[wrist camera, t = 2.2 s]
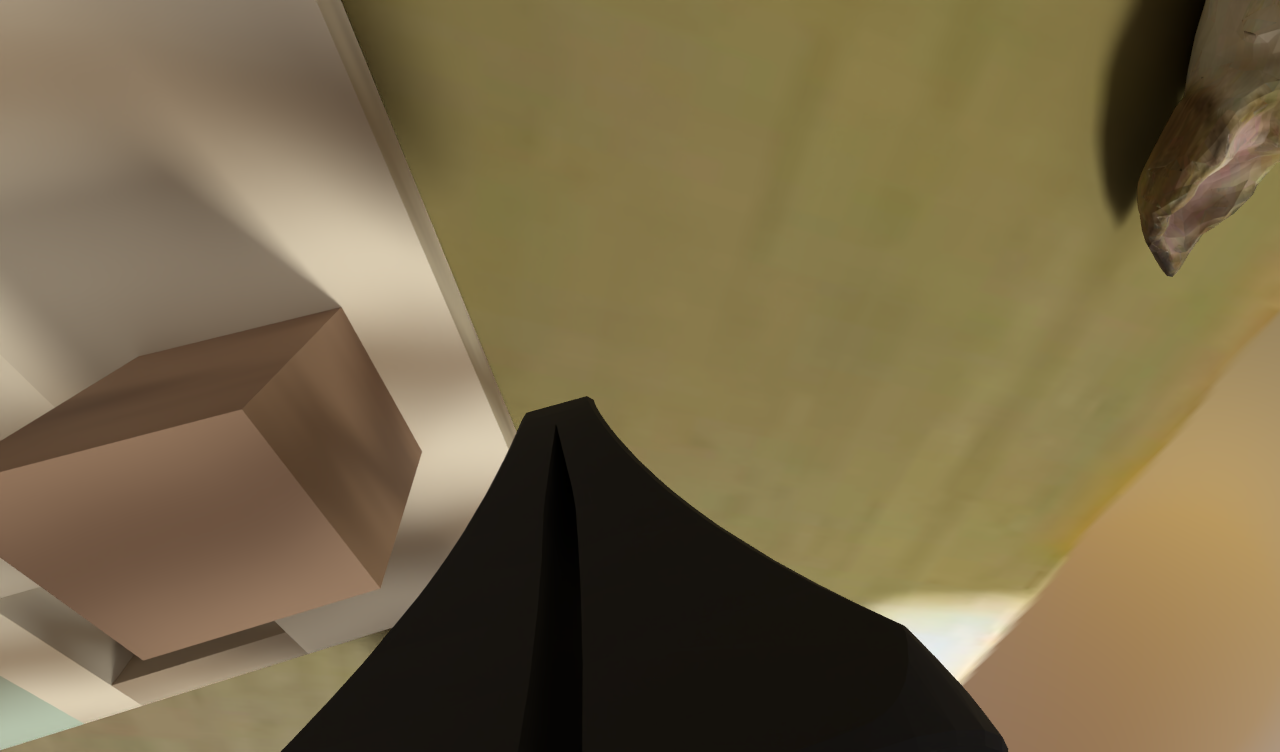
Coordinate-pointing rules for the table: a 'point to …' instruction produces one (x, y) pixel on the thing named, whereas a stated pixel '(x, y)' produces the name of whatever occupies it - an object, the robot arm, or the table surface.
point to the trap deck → (215, 284)
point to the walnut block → (212, 485)
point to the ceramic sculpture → (1215, 130)
